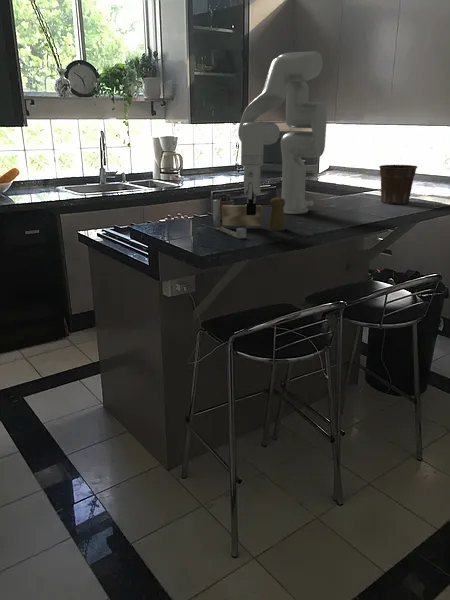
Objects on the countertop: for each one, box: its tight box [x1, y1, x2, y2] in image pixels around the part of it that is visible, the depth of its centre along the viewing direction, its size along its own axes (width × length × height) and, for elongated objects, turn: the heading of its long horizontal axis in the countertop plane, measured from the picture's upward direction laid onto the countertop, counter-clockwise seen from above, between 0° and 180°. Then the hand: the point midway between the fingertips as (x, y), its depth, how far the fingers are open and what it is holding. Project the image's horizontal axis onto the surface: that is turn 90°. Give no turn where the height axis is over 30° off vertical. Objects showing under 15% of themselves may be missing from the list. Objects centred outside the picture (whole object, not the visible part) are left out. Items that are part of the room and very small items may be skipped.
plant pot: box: [378, 164, 418, 205], centre depth 231 cm, size 16×16×16 cm
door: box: [221, 204, 263, 227], centre depth 184 cm, size 14×3×7 cm, turn 87°
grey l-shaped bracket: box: [212, 199, 247, 239], centre depth 176 cm, size 20×2×10 cm, turn 29°
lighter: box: [211, 192, 234, 220], centre depth 197 cm, size 8×3×10 cm, turn 92°
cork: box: [268, 196, 286, 232], centre depth 182 cm, size 6×6×11 cm
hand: (251, 214), depth 180 cm, fingers closed
